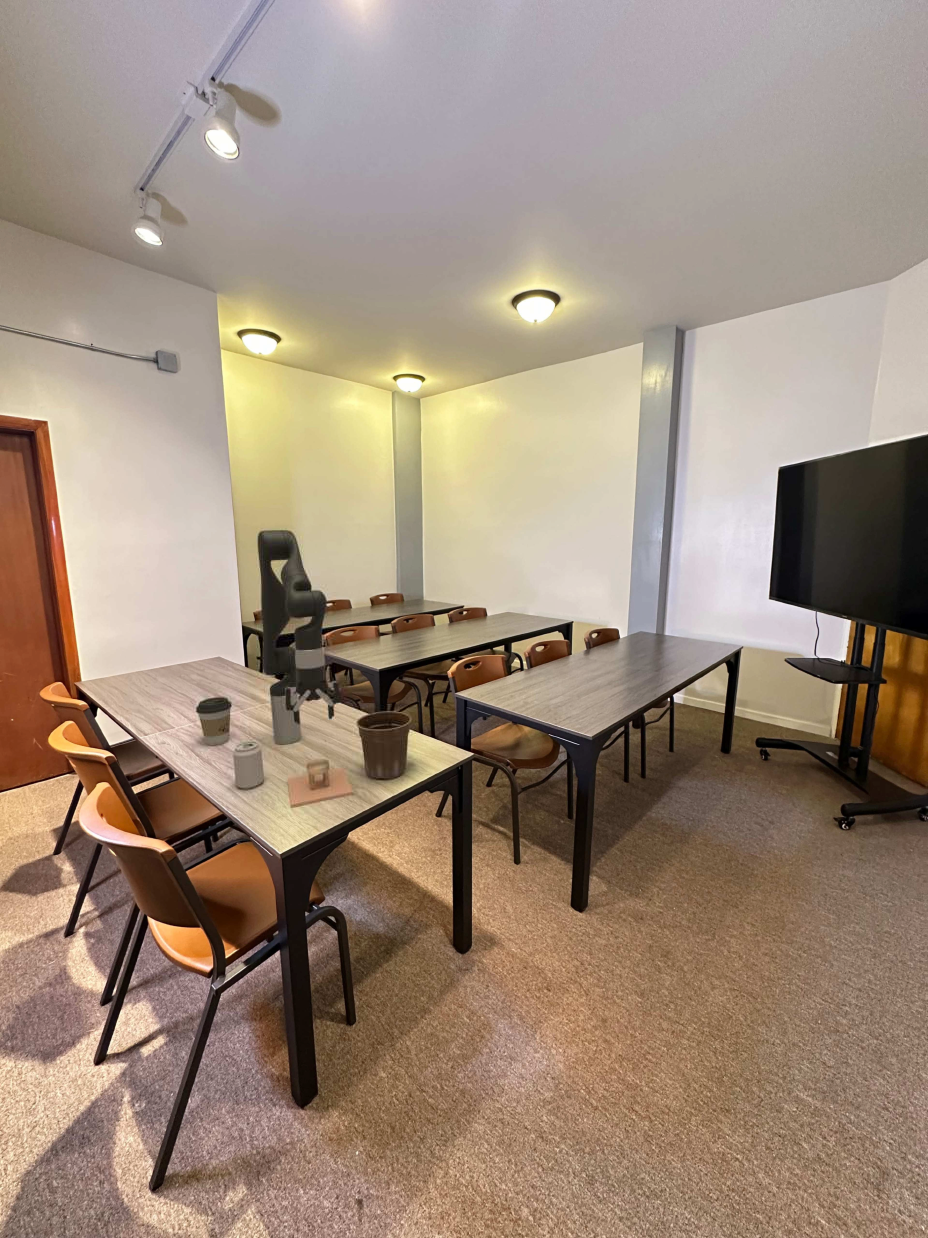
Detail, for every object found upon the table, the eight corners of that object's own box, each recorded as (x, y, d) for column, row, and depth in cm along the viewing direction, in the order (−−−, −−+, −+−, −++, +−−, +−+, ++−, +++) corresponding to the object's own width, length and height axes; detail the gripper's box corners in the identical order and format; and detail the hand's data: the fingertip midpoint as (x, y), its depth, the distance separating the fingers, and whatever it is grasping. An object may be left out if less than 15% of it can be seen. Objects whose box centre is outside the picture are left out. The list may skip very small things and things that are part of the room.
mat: (287, 781, 142) (287, 778, 142) (343, 770, 148) (343, 767, 148) (291, 807, 127) (291, 805, 127) (352, 794, 133) (352, 791, 133)
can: (268, 777, 144) (264, 739, 143) (258, 789, 137) (254, 749, 135) (242, 778, 144) (239, 739, 142) (231, 790, 137) (227, 750, 135)
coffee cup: (220, 749, 165) (216, 707, 163) (191, 747, 168) (187, 705, 165) (242, 736, 176) (238, 696, 174) (214, 734, 179) (210, 695, 176)
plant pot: (388, 754, 158) (386, 707, 156) (424, 768, 148) (422, 717, 146) (348, 773, 146) (345, 722, 143) (384, 789, 136) (381, 734, 133)
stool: (307, 782, 139) (305, 761, 138) (328, 778, 141) (327, 757, 140) (309, 792, 134) (307, 770, 133) (331, 787, 136) (330, 765, 135)
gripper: (335, 658, 138) (338, 712, 141) (281, 664, 133) (286, 720, 135) (339, 664, 131) (342, 721, 134) (283, 670, 126) (288, 729, 128)
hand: (314, 720), depth 134 cm, fingers open, 8 cm apart
